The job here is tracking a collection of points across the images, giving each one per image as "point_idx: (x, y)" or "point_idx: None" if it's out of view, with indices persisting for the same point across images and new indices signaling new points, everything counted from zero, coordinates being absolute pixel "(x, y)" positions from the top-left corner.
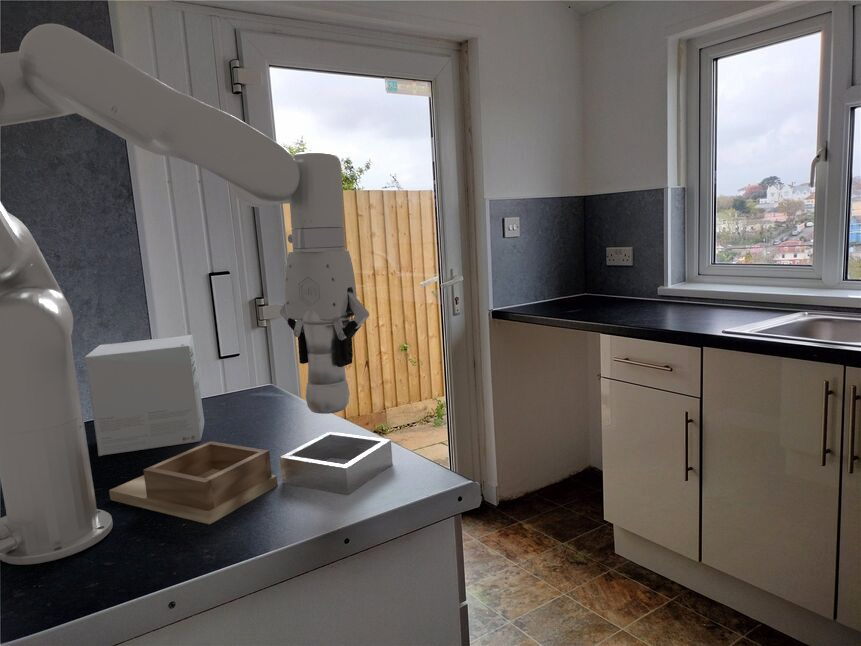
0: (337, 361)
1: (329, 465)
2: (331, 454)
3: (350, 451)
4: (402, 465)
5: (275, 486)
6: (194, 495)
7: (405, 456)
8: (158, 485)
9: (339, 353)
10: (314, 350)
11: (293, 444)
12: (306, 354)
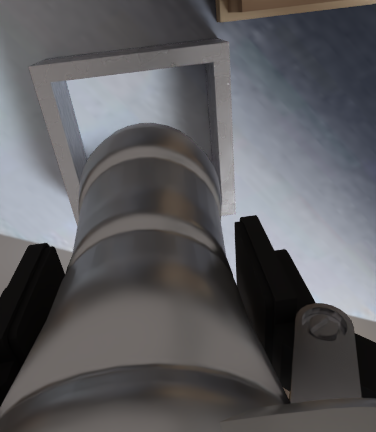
0: (32, 255)
1: (77, 61)
2: None
3: None
4: (69, 214)
5: (216, 13)
6: None
7: None
8: None
9: (9, 286)
10: (126, 243)
11: (330, 195)
12: (242, 258)
